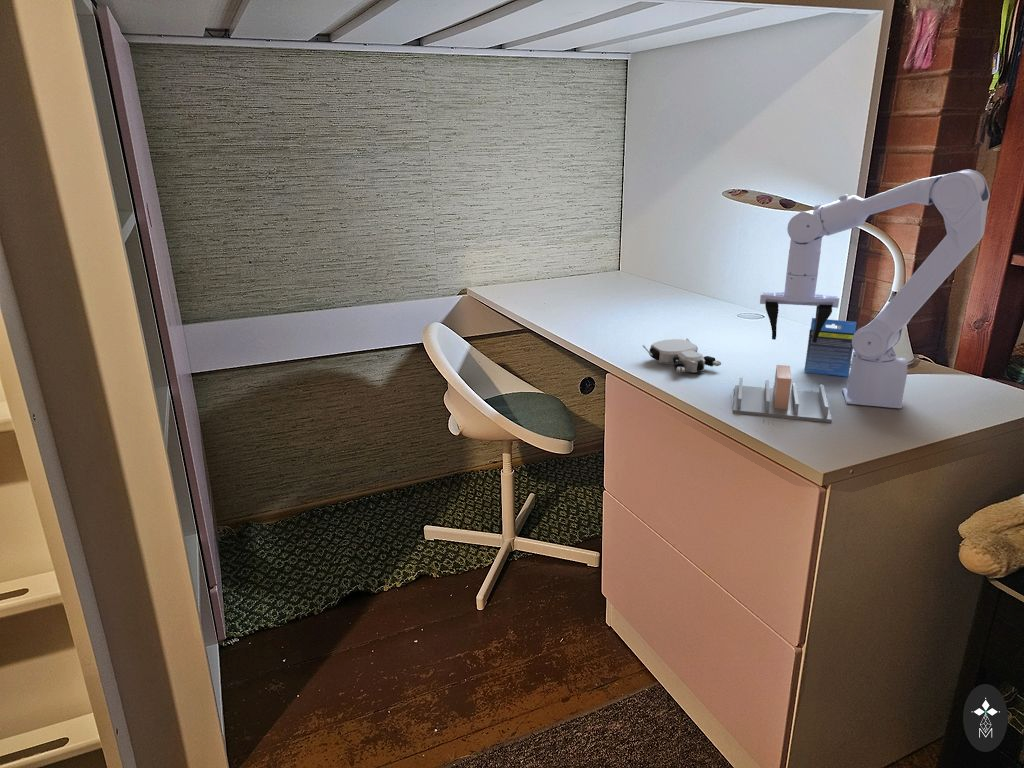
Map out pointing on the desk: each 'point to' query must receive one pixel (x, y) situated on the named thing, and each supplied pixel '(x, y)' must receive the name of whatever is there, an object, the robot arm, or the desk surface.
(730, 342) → the desk surface
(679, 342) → the robot toy
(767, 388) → the rack
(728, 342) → the desk surface
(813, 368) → the label tape box
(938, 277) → the robot arm
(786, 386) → the tile
